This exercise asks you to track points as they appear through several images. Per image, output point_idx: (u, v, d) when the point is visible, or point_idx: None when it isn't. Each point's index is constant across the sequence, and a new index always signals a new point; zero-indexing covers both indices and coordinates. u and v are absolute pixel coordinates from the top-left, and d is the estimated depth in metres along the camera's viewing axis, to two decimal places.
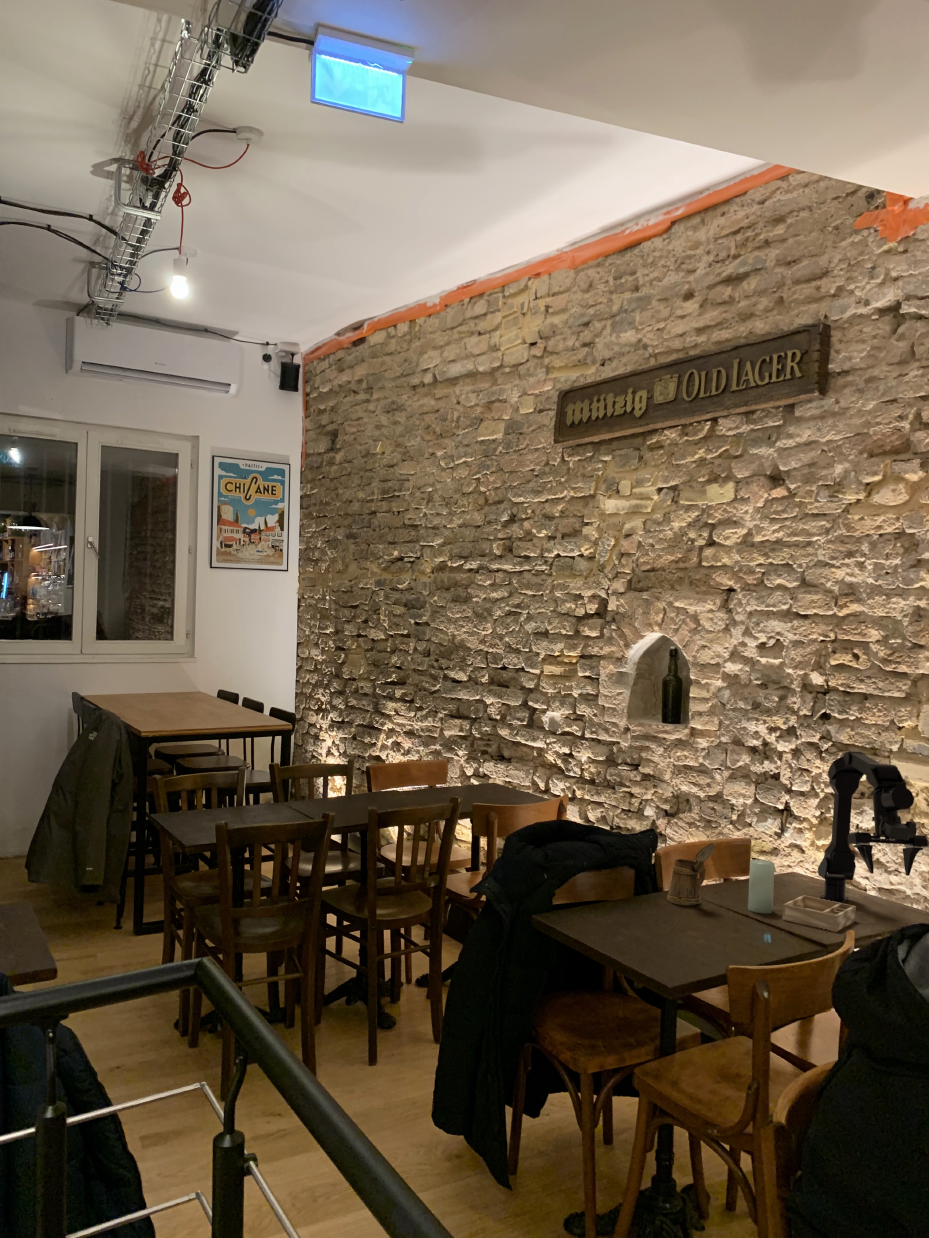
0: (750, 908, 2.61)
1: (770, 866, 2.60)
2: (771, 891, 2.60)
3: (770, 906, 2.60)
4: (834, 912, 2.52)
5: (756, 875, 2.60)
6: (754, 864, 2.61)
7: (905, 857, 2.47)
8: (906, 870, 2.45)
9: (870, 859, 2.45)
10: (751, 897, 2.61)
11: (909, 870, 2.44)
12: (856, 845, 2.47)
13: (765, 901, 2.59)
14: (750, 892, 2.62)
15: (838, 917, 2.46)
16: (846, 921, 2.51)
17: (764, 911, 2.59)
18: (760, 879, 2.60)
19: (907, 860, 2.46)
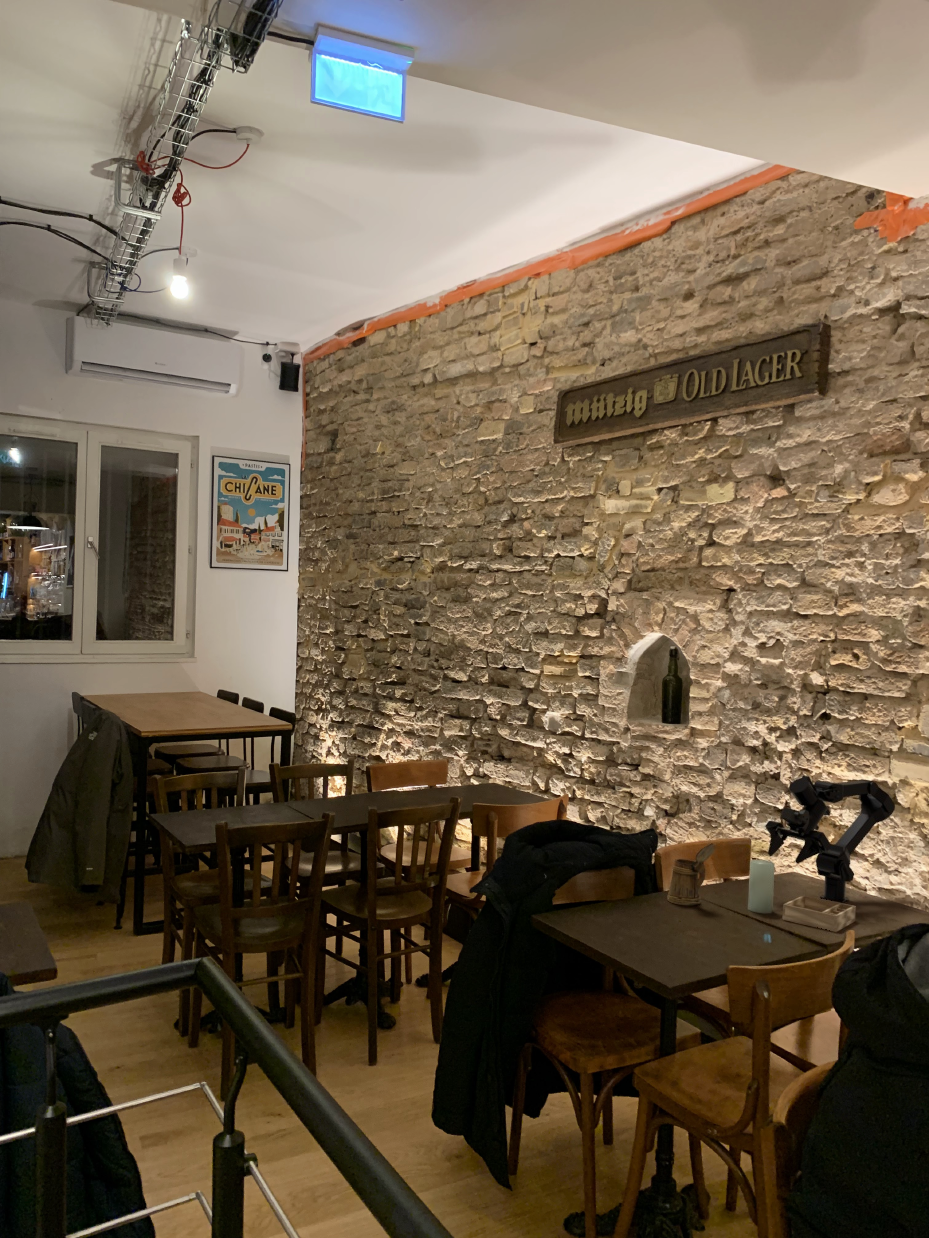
0: (750, 908, 2.61)
1: (770, 866, 2.60)
2: (771, 891, 2.60)
3: (770, 906, 2.60)
4: (834, 912, 2.52)
5: (756, 875, 2.60)
6: (754, 864, 2.61)
7: None
8: None
9: (771, 842, 2.72)
10: (751, 897, 2.61)
11: (797, 857, 2.63)
12: None
13: (765, 901, 2.59)
14: (750, 892, 2.62)
15: (838, 917, 2.46)
16: (846, 921, 2.51)
17: (764, 911, 2.59)
18: (760, 879, 2.60)
19: None
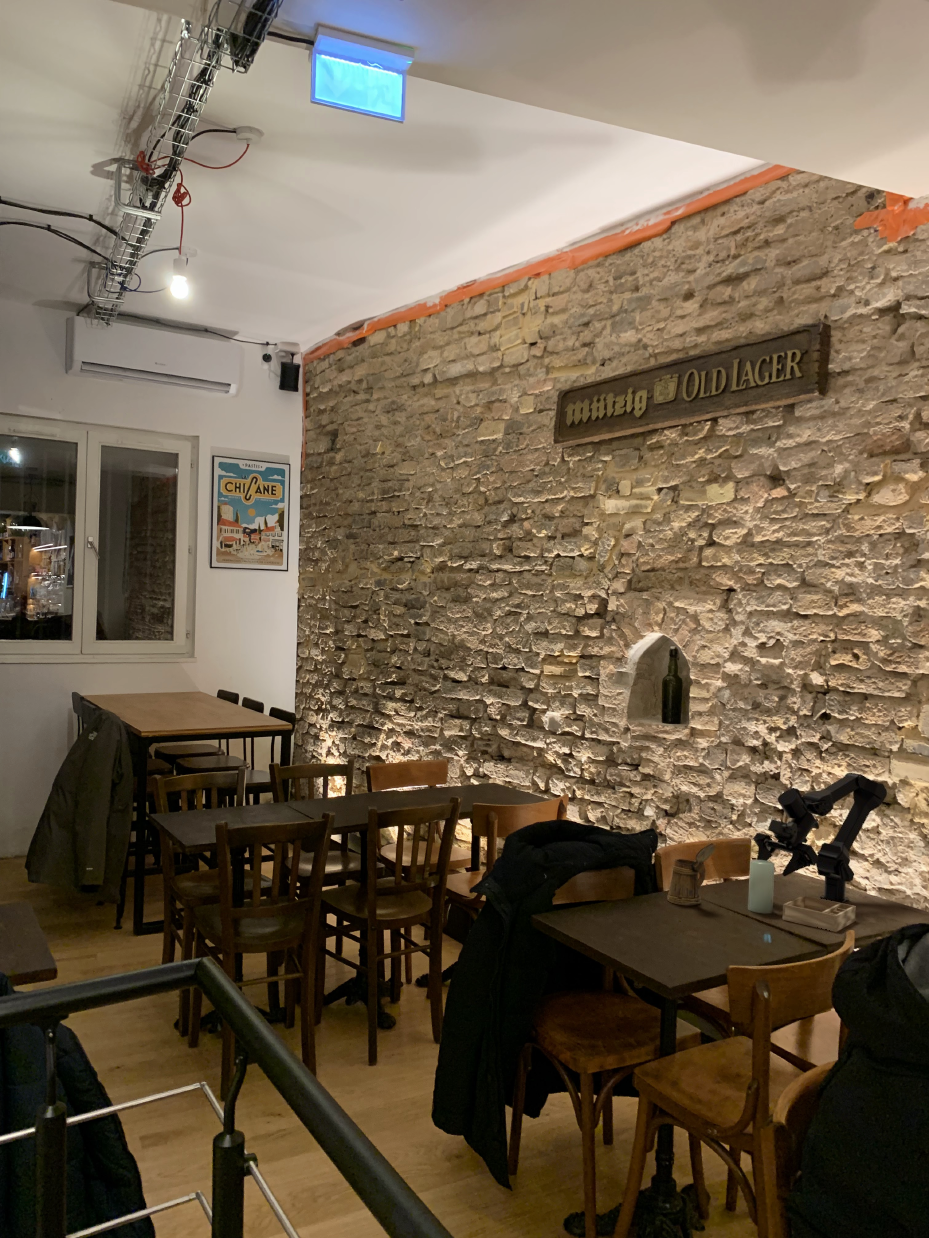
0: (750, 908, 2.61)
1: (770, 866, 2.60)
2: (771, 891, 2.60)
3: (770, 906, 2.60)
4: (834, 912, 2.52)
5: (756, 875, 2.60)
6: (754, 864, 2.61)
7: None
8: None
9: (759, 855, 2.70)
10: (751, 897, 2.61)
11: (784, 870, 2.60)
12: None
13: (765, 901, 2.59)
14: (750, 892, 2.62)
15: (838, 917, 2.46)
16: (846, 921, 2.51)
17: (764, 911, 2.59)
18: (760, 879, 2.60)
19: None
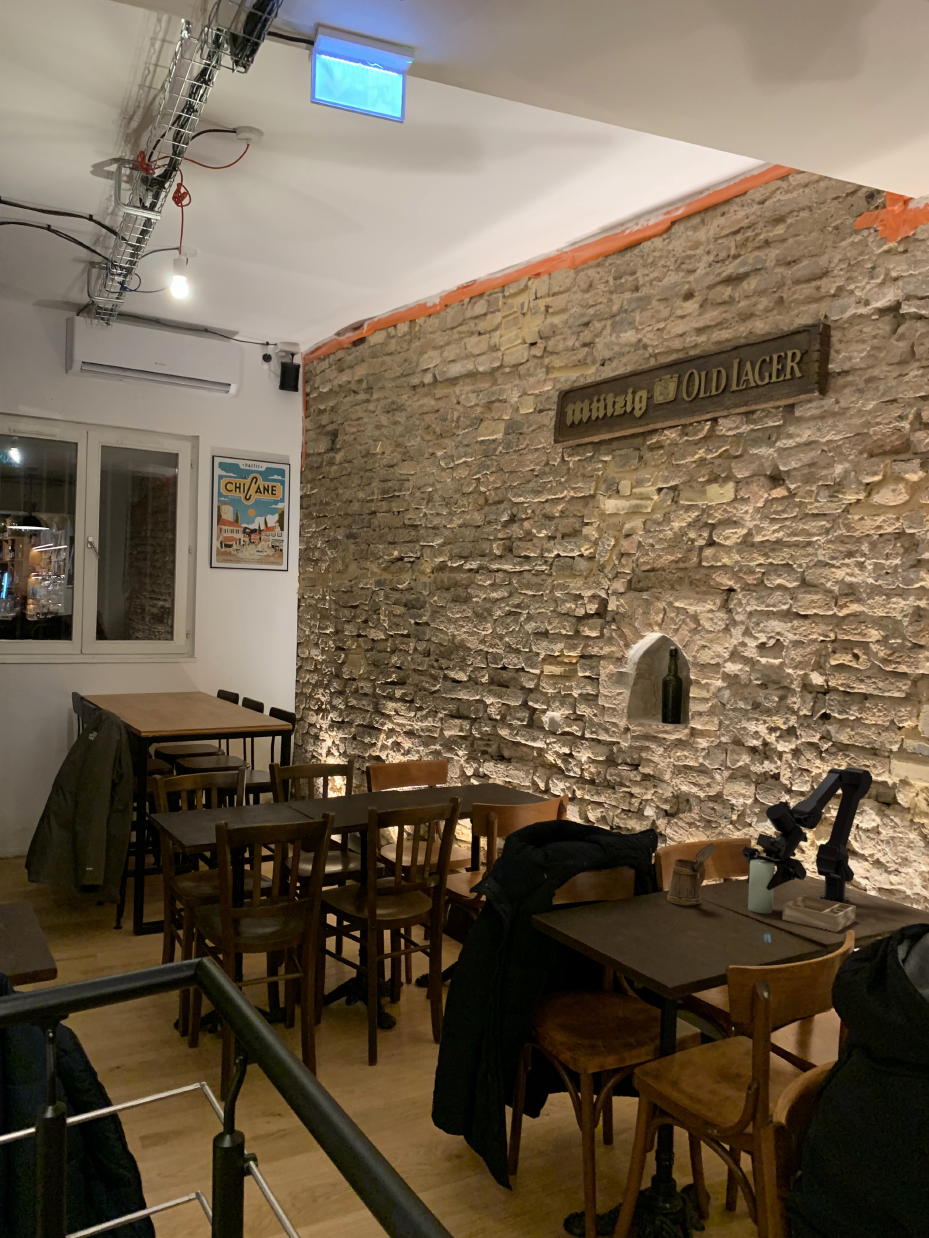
0: (750, 908, 2.61)
1: (770, 866, 2.60)
2: (771, 891, 2.60)
3: (770, 906, 2.60)
4: (834, 912, 2.52)
5: (756, 875, 2.60)
6: (754, 864, 2.61)
7: None
8: None
9: None
10: (751, 897, 2.61)
11: (769, 883, 2.59)
12: None
13: (765, 901, 2.59)
14: (750, 892, 2.62)
15: (838, 917, 2.46)
16: (846, 921, 2.51)
17: (764, 911, 2.59)
18: (760, 879, 2.60)
19: None
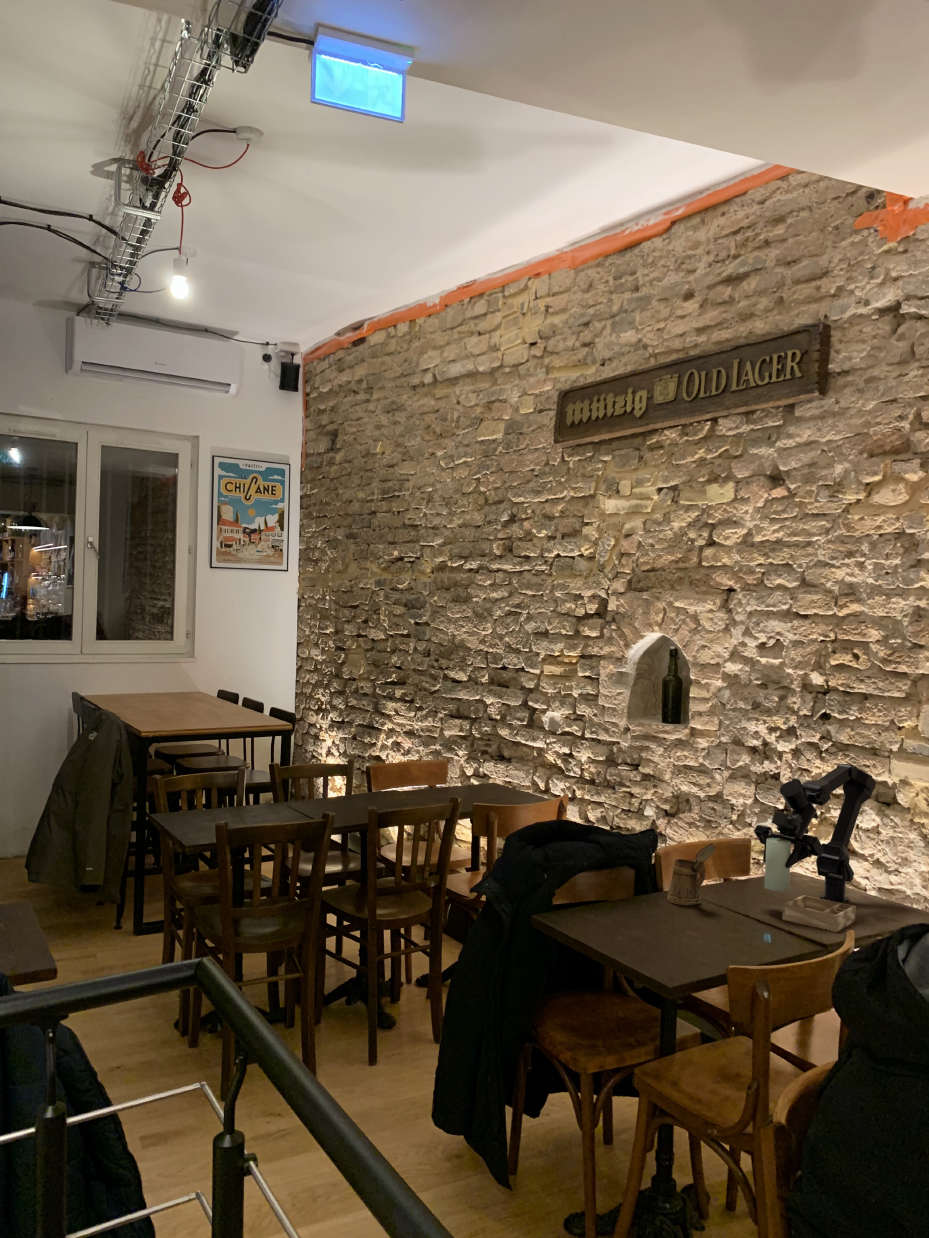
0: (768, 887, 2.59)
1: (788, 844, 2.58)
2: (788, 869, 2.58)
3: (788, 884, 2.58)
4: (834, 912, 2.52)
5: (774, 853, 2.58)
6: (772, 842, 2.58)
7: None
8: None
9: (765, 848, 2.64)
10: (769, 876, 2.59)
11: (787, 861, 2.57)
12: None
13: (783, 880, 2.57)
14: (767, 871, 2.59)
15: (838, 917, 2.46)
16: (846, 921, 2.51)
17: (782, 889, 2.57)
18: (778, 857, 2.57)
19: None
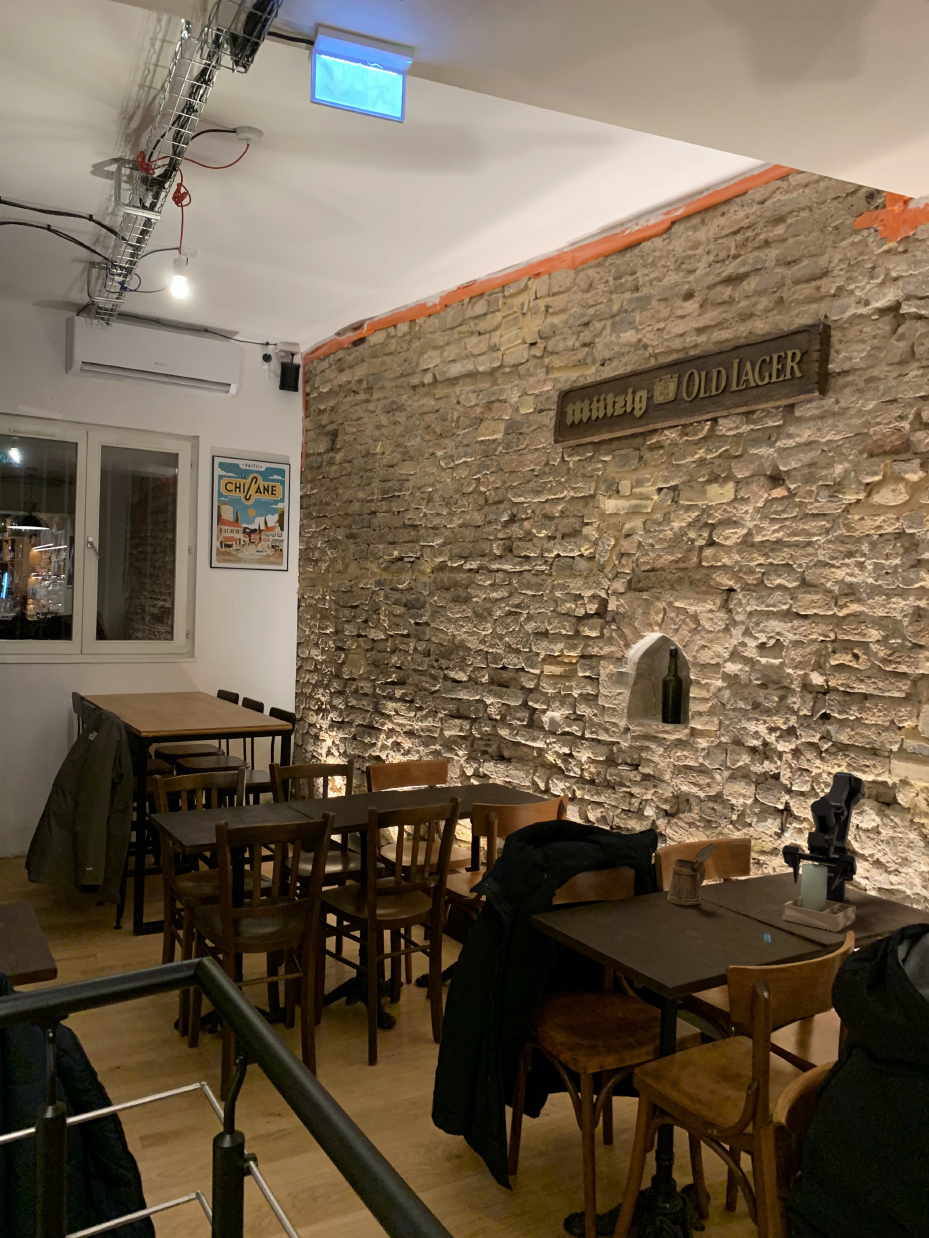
0: None
1: (826, 869, 2.54)
2: None
3: None
4: (834, 912, 2.52)
5: (815, 880, 2.53)
6: (812, 869, 2.54)
7: None
8: None
9: (794, 869, 2.59)
10: (808, 903, 2.54)
11: (832, 883, 2.53)
12: None
13: (823, 906, 2.54)
14: (806, 898, 2.54)
15: (838, 917, 2.46)
16: (846, 921, 2.51)
17: None
18: (818, 884, 2.53)
19: None
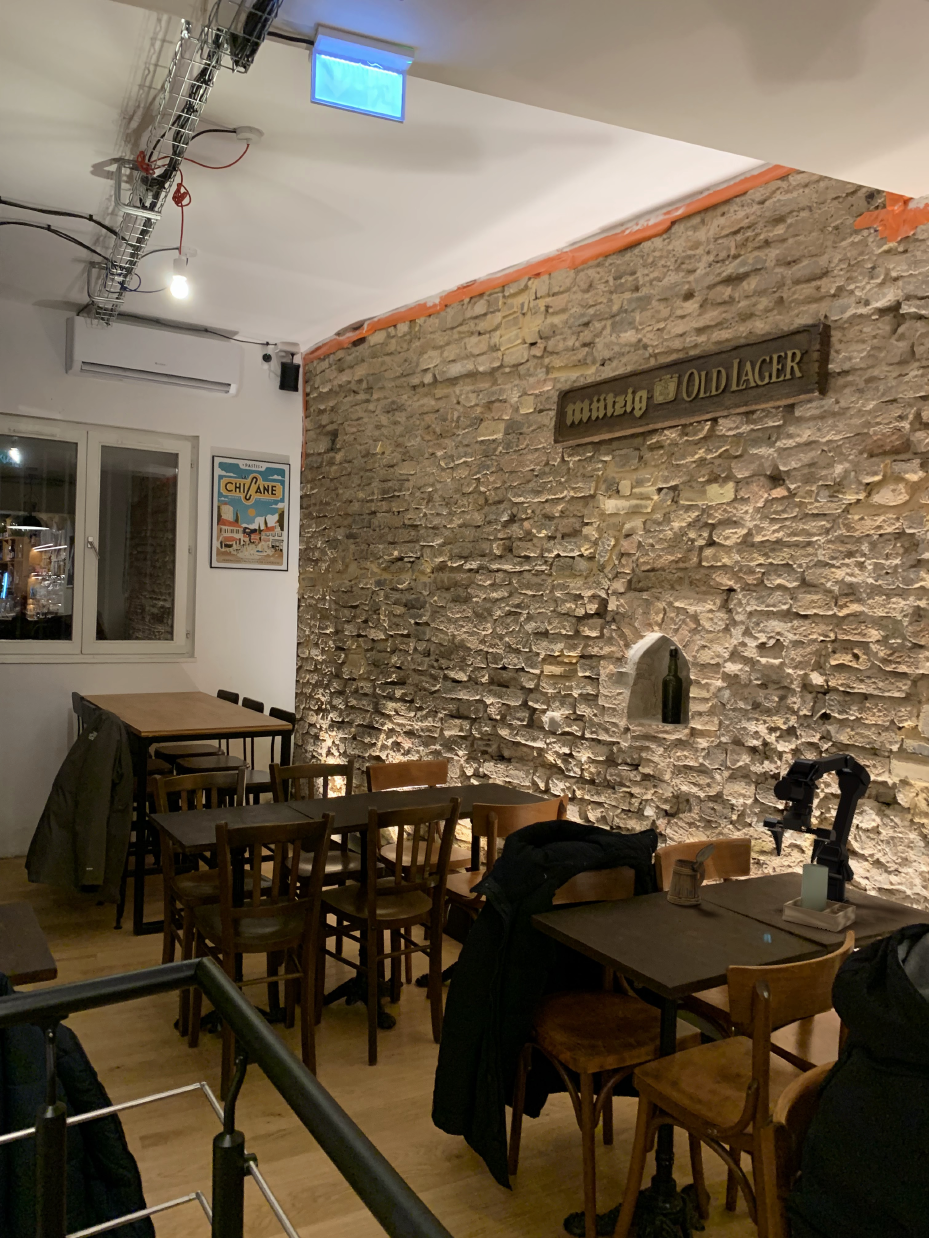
0: None
1: (827, 870, 2.54)
2: (826, 895, 2.55)
3: None
4: (834, 912, 2.52)
5: (815, 880, 2.53)
6: (812, 869, 2.54)
7: None
8: None
9: (776, 843, 2.69)
10: (808, 903, 2.54)
11: (812, 859, 2.63)
12: None
13: (823, 906, 2.54)
14: (807, 898, 2.54)
15: (838, 917, 2.46)
16: (846, 921, 2.51)
17: None
18: (819, 884, 2.53)
19: None
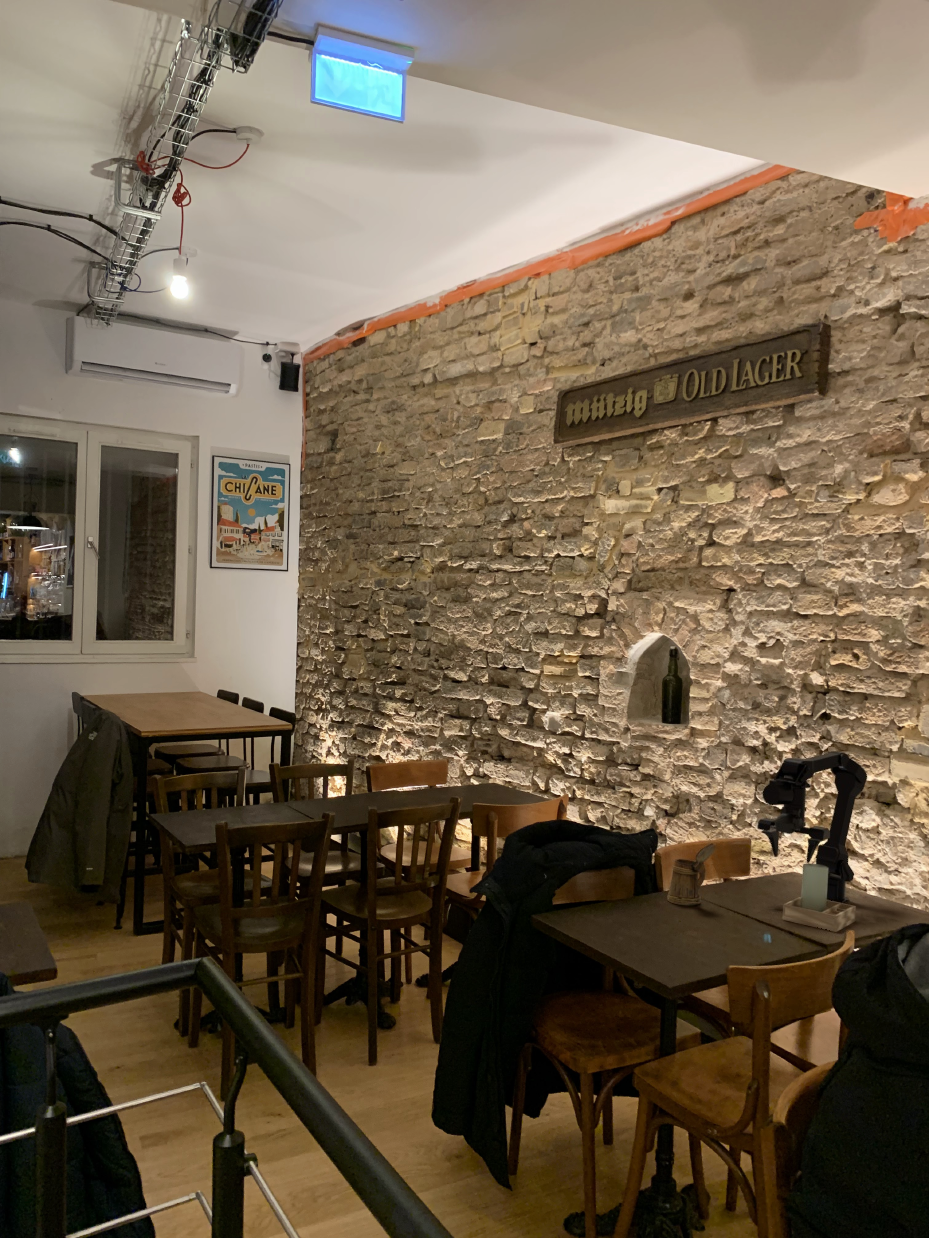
0: None
1: (827, 870, 2.54)
2: (826, 895, 2.55)
3: None
4: (834, 912, 2.52)
5: (816, 880, 2.53)
6: (813, 869, 2.54)
7: None
8: None
9: (772, 844, 2.71)
10: (808, 903, 2.54)
11: (807, 858, 2.65)
12: None
13: (823, 906, 2.54)
14: (807, 898, 2.54)
15: (838, 917, 2.46)
16: (846, 921, 2.51)
17: None
18: (819, 884, 2.53)
19: None
